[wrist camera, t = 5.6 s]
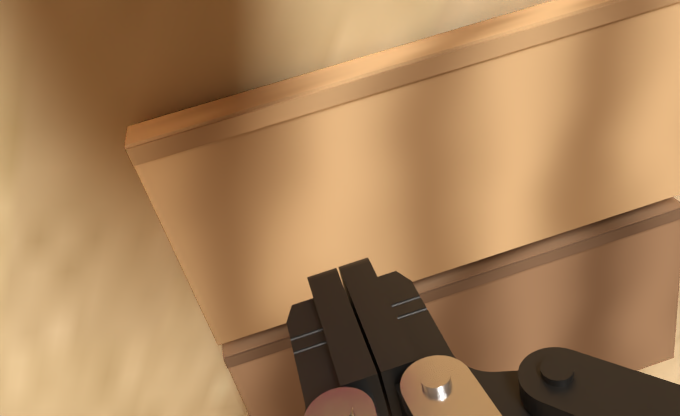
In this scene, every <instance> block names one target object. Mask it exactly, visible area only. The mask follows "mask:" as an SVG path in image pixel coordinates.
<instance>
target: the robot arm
mask: <svg viewBox="0 0 680 416" xmlns="http://www.w3.org/2000/svg"><path fill="white" fill-rule="evenodd" d="M339 271H340V275H341V278H340V276H339V273H338V271H337V268H334V269H331V270H328V271H325V272H322V273H319V274H315V275H312V276H309V277H307V279H308V282H309V285H310V289H311V292H312V295H313V298H312V299H309V300H306V301H303V302H300V303H297V304H294V305H292V306H291V309H290V312H289V316H288V319H287V322H286V323H287V327H288V332H289V336H290V340H291V345H292V349H293V353H294V358H295V362H296V367H297V371H298V375H299V380H300V384H301V389H302V393H303V397H304V402H305V415H304V416H680V385H678V384H675V383H672V382H669V381H666V380H663V379H660V378H657V377H654V376H651V375H648V374H645V373H642V372H639V371H636V370H632V369H629V368H626V367H623V366H620V365H617V364H614V363H611V362H608V361H605V360H602V359H599V358H596V357H593V356H590V355H587V354H584V353H581V352H577V351H574V350H571V349H567V348H561V347H548V348H543V349H539V350H536V351H534V352H532V353H530V354H529V355H528V356H526V357H525V358H524V359H523V361H522V362H521V364H520V366H519V369H518V370H517V371H501V372H486V371H480V370H476V369H473V368H470V367H468V366H466V365H465V364H464V363H463V362H461V361H460V360H458V359H457V358H456V357H455V356H454V355H453V353H452V352H451V350H450V348H449V347H448V345H447V343H446V341H445V339H444V338H443V336H442V334H441V332H440V330H439V329H438V327H437V325H436V323H435V322H434V320H433V318H432V316H431V314H430V313H429V311H428V310H427V308H426V306H425V304H424V302H423V300H422V298H420V295H419V293H418V291H417V290H416V288H415V286H414V284H413V282H412V281H411V280H410V279H408V278H406V277H405V276H403V275H402V274H400V273H399V272H397V271H394V272H391V273H388V274H385V275H382V276H378V277H377V275H376V273H375V271H374V269H373V266H372V264H371V262H370V260H369V259H368V257H367V258H364V259H361V260H358V261H355V262H352V263H349V264H346V265H343V266H340V267H339ZM341 279H342V281H341ZM342 282H343V284H342Z"/></svg>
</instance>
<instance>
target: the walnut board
mask: <svg viewBox="0 0 680 416" xmlns="http://www.w3.org/2000/svg"><path fill="white" fill-rule="evenodd" d="M679 280H680V202H679V201H678V200H676V199H675V198H673V197H670V198H667V199H664V200H661V201H658V202H655V203H652V204H649V205H646V206H643V207H640V208H637V209H634V210H631V211H628V212H625V213H622V214H618V215H615V216H612V217H609V218H606V219H603V220H600V221H597V222H594V223H591V224H588V225H585V226H582V227H579V228H576V229H573V230H570V231H566V232H563V233H560V234H557V235H554V236H551V237H548V238H545V239H542V240H539V241H536V242H533V243H530V244H527V245H524V246H521V247H517V248H514V249H511V250H508V251H505V252H502V253H499V254H496V255H493V256H490V257H487V258H484V259H481V260H478V261H475V262H472V263H469V264H465V265H462V266H459V267H456V268H453V269H450V270H447V271H444V272H441V273H438V274H435V275H432V276H429V277H426V278H423V279H420V280H416V281H413V284H414V286H415V288H416V290H417V291H418V293H419V295H420V298H422V300H423V302H424V304H425V306H426V308H427V310H428V311H429V313H430V314H431V316H432V318H433V320H434V322H435V323H436V325H437V327H438V329H439V330H440V332H441V334H442V336H443V338H444V339H445V341H446V343H447V345H448V347H449V348H450V350H451V352H452V353H453V355H454V356H455V357H456V358H457V359H458V360H460V361H461V362H463V363H464V364H465V365H466V366H468V367H470V368H473V369H476V370H480V371H486V372H501V371H517V370H518V369H519V366H520V364H521V362H522V361H523V359H524V358H525V357H526V356H528V355H529V354H530V353H532V352H534V351H536V350H539V349H543V348H548V347H561V348H567V349H571V350H574V351H577V352H581V353H584V354H587V355H590V356H593V357H596V358H599V359H602V360H605V361H608V362H611V363H614V364H617V365H620V366H623V367H626V368H629V369H632V370H636V371H637V370H640V369H643V368H645V367H648V366H651V365H654V364H657V363H660V362H663V361H666V360H668V359H671V358H674V345H675V332H676V319H677V306H678V293H679ZM222 347H223V358H224V361H225V364H226V366H227V368H228V369H229V371H230V373H231V375H232V378H233V380H234V382H235V384H236V386H237V389H238V391H239V393H240V395H241V398H242V400H243V402H244V404H245V406H246V409H247V411H248V413H249V415H250V416H304V415H305V402H304V397H303V393H302V389H301V384H300V380H299V375H298V371H297V367H296V362H295V358H294V353H293V349H292V345H291V340H290V336H289V332H288V327H287V323H285V324H282V325H279V326H276V327H273V328H270V329H267V330H263V331H260V332H257V333H254V334H251V335H248V336H245V337H242V338H239V339H236V340H233V341H230V342H227V343H224V344H222Z"/></svg>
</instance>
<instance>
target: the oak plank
mask: <svg viewBox="0 0 680 416" xmlns="http://www.w3.org/2000/svg"><path fill="white" fill-rule="evenodd" d="M124 146H125V148H126V149H125V150H126V152H127V155H128V157H129V159H130V161H131V163H132V165H133V166H134V168H135V170H136V172H137V174H138V176H139V178H140V180H141V182H142V185H143V187H144V189H145V191H146V193H147V195H148V197H149V199H150V202H151V204H152V206H153V208H154V210H155V212H156V214H157V216H158V219H159V221H160V223H161V225H162V227H163V229H164V231H165V233H166V236H167V238H168V240H169V242H170V244H171V246H172V248H173V250H174V253H175V255H176V257H177V259H178V261H179V263H180V265H181V267H182V270H183V272H184V274H185V276H186V278H187V280H188V282H189V284H190V286H191V289H192V291H193V293H194V295H195V297H196V299H197V301H198V303H199V306H200V308H201V310H202V312H203V314H204V316H205V318H206V320H207V323H208V325H209V327H210V329H211V331H212V333H213V335H214V337H215V340H216V342H217V344H218V345H221V344H224V343H227V342H230V341H233V340H236V339H239V338H242V337H245V336H248V335H251V334H254V333H257V332H260V331H263V330H267V329H270V328H273V327H276V326H279V325H282V324H285V323H286V322H287V319H288V316H289V312H290V309H291V306H292V305H294V304H297V303H300V302H303V301H306V300H309V299H312V298H313V295H312V292H311V289H310V285H309V282H308V279H307V277H309V276H312V275H315V274H319V273H322V272H325V271H328V270H331V269H334V268H337V271H338V273H339V276H340V278H341V275H340V271H339V267H340V266H343V265H346V264H349V263H352V262H355V261H358V260H361V259H364V258H367V257H368V259H369V260H370V262H371V264H372V266H373V269H374V271H375V273H376V275H377V277H378V276H382V275H385V274H388V273H391V272H394V271H397V272H399V273H400V274H402V275H403V276H405V277H406V278H408V279H410V280H411V281H412V282H413V281H416V280H420V279H423V278H426V277H429V276H432V275H435V274H438V273H441V272H444V271H447V270H450V269H453V268H456V267H459V266H462V265H465V264H469V263H472V262H475V261H478V260H481V259H484V258H487V257H490V256H493V255H496V254H499V253H502V252H505V251H508V250H511V249H514V248H517V247H521V246H524V245H527V244H530V243H533V242H536V241H539V240H542V239H545V238H548V237H551V236H554V235H557V234H560V233H563V232H566V231H570V230H573V229H576V228H579V227H582V226H585V225H588V224H591V223H594V222H597V221H600V220H603V219H606V218H609V217H612V216H615V215H618V214H622V213H625V212H628V211H631V210H634V209H637V208H640V207H643V206H646V205H649V204H652V203H655V202H658V201H661V200H664V199H667V198H670V197H674V196H677V195H680V0H553V1H549V2H546V3H542V4H539V5H536V6H532V7H529V8H526V9H522V10H519V11H515V12H512V13H509V14H505V15H502V16H499V17H495V18H492V19H488V20H485V21H482V22H478V23H475V24H472V25H468V26H465V27H461V28H458V29H455V30H451V31H448V32H445V33H441V34H438V35H434V36H431V37H428V38H424V39H421V40H418V41H414V42H411V43H407V44H404V45H401V46H397V47H394V48H391V49H387V50H384V51H380V52H377V53H374V54H370V55H367V56H364V57H360V58H357V59H354V60H350V61H347V62H343V63H340V64H337V65H333V66H330V67H327V68H323V69H320V70H316V71H313V72H310V73H306V74H303V75H300V76H296V77H293V78H289V79H286V80H283V81H279V82H276V83H273V84H269V85H266V86H262V87H259V88H256V89H252V90H249V91H246V92H242V93H239V94H235V95H232V96H229V97H225V98H222V99H219V100H215V101H212V102H208V103H205V104H202V105H198V106H195V107H192V108H188V109H185V110H181V111H178V112H175V113H171V114H168V115H165V116H161V117H158V118H154V119H151V120H148V121H144V122H141V123H138V124H134V125H131V126H127V132H126V138H125V144H124ZM341 281H342V279H341ZM342 284H343V282H342Z"/></svg>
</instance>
